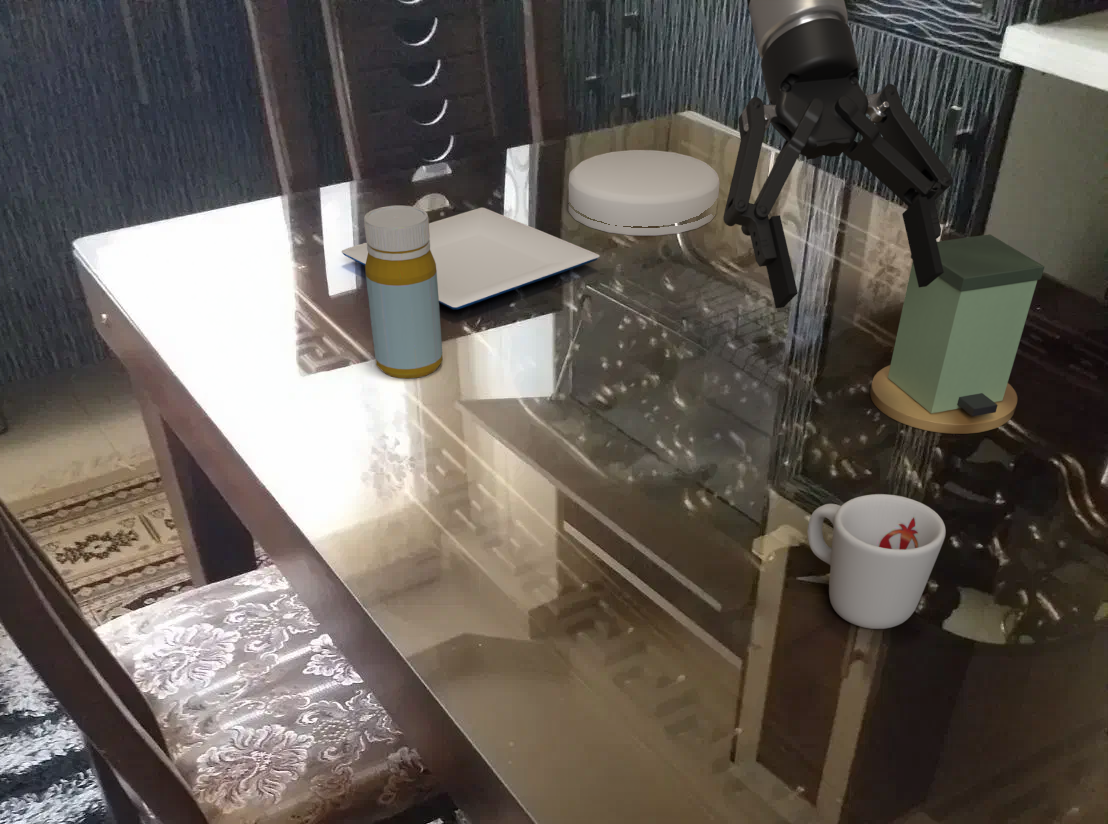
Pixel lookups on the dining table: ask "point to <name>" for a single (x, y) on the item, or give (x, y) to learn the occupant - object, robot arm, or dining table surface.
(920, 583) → the cup
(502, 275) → the plate
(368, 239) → the bottle
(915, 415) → the disc
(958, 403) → the bin
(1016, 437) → the dining table surface
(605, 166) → the container
